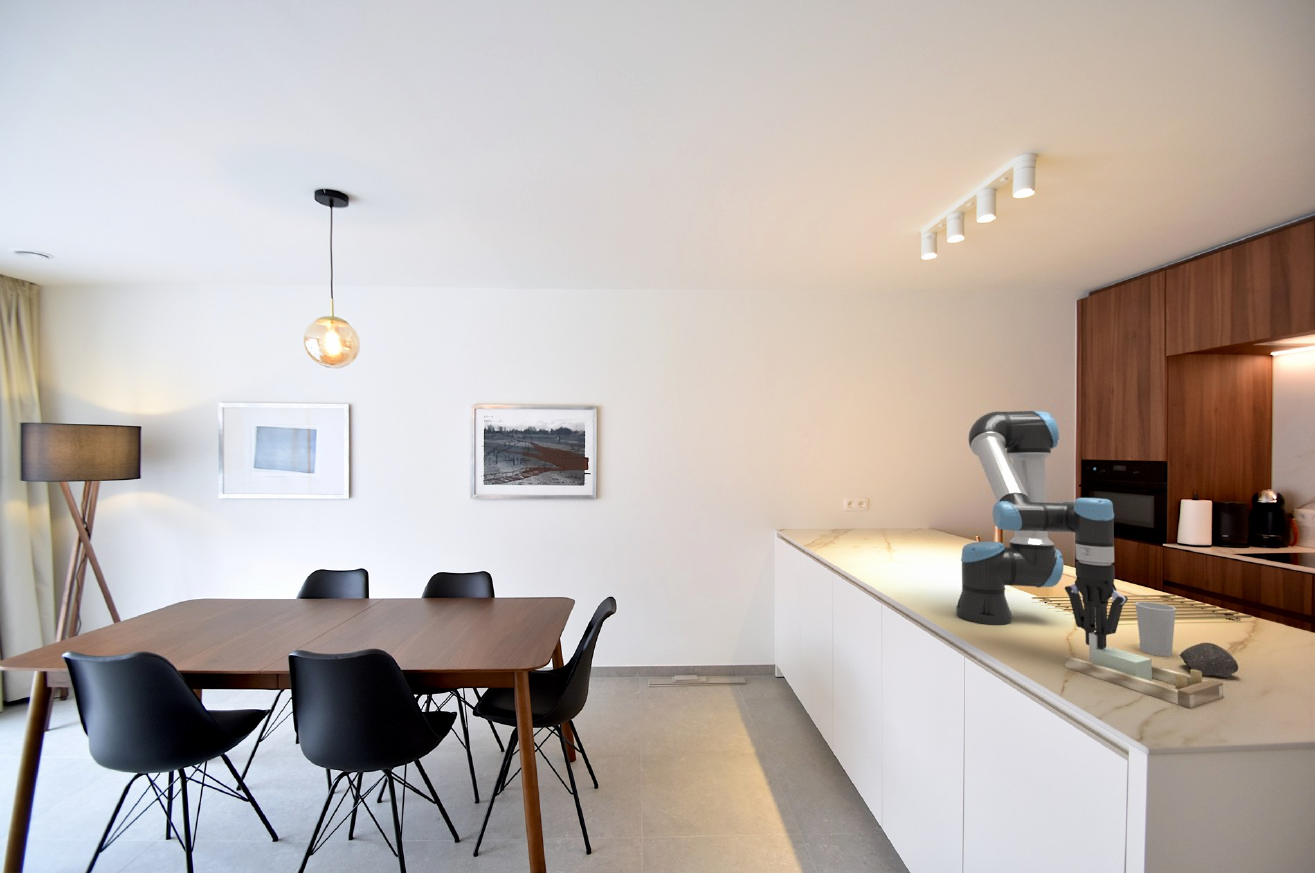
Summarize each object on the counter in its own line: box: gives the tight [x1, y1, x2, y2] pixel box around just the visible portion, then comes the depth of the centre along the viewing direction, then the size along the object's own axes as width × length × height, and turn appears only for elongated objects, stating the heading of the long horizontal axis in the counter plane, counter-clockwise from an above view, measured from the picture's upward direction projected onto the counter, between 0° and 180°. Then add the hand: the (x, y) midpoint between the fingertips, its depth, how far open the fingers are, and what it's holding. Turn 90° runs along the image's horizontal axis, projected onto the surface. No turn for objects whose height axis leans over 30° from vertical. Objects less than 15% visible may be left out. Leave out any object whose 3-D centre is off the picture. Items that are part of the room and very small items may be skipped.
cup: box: [1135, 601, 1177, 658], centre depth 150 cm, size 8×8×12 cm
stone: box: [1179, 642, 1239, 679], centre depth 136 cm, size 10×8×10 cm
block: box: [1091, 645, 1153, 682], centre depth 134 cm, size 9×6×5 cm, turn 23°
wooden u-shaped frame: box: [1065, 655, 1224, 709], centre depth 131 cm, size 24×13×5 cm, turn 24°
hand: (1096, 660), depth 139 cm, fingers closed
